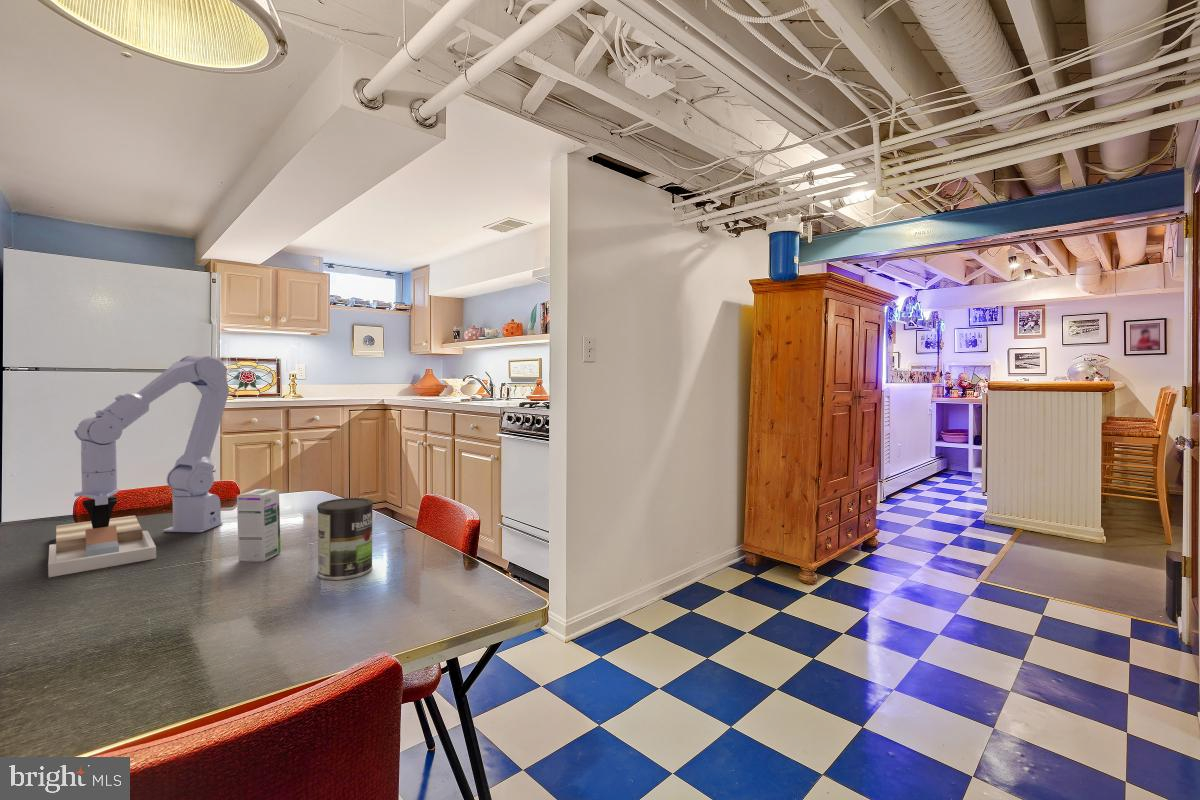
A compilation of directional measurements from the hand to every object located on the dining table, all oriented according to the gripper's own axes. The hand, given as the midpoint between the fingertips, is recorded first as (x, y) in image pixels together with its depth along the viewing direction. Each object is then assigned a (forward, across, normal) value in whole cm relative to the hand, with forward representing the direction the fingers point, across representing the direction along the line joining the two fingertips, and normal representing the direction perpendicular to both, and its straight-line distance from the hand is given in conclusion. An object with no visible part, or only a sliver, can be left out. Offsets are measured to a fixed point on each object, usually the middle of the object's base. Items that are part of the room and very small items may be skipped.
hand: (100, 531), depth 119 cm
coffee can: (+4, +50, +35) cm, 61 cm away
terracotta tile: (+2, +2, 0) cm, 3 cm away
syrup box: (+4, +29, +24) cm, 38 cm away
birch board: (+4, -8, 0) cm, 9 cm away
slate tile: (+1, +8, 0) cm, 8 cm away
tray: (+4, +8, 0) cm, 9 cm away
